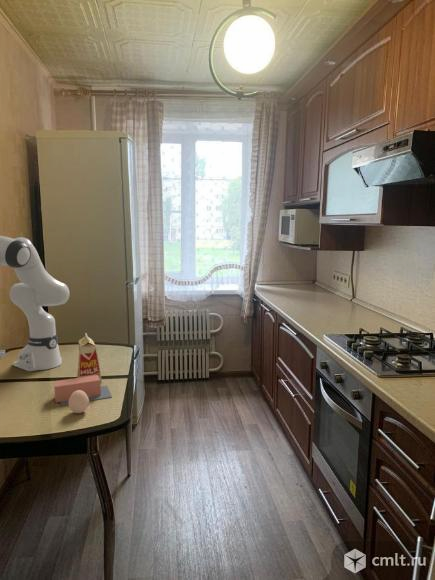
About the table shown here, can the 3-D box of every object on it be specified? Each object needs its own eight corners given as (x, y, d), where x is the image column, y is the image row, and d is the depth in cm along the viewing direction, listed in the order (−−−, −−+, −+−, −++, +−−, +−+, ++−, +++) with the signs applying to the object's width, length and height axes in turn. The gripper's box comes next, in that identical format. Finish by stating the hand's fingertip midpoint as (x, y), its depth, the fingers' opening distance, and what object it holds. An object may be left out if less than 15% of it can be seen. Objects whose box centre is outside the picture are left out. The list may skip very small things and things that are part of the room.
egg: (88, 415, 139) (87, 393, 138) (68, 417, 137) (66, 395, 136) (90, 407, 145) (89, 386, 144) (70, 409, 144) (69, 387, 143)
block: (54, 386, 148) (100, 380, 154) (53, 381, 153) (98, 374, 159) (55, 402, 149) (101, 395, 155) (55, 396, 154) (98, 389, 160)
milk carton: (76, 379, 172) (73, 333, 169) (99, 376, 176) (96, 330, 173) (78, 387, 164) (75, 338, 161) (102, 383, 167) (99, 335, 164)
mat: (60, 405, 146) (60, 405, 146) (59, 393, 157) (59, 392, 157) (111, 397, 154) (111, 396, 153) (107, 386, 164) (106, 385, 164)
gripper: (-49, 360, 127) (1, 353, 133) (-38, 341, 146) (6, 337, 151) (-46, 379, 128) (3, 372, 134) (-36, 358, 147) (8, 353, 152)
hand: (5, 353), depth 143 cm, fingers closed
